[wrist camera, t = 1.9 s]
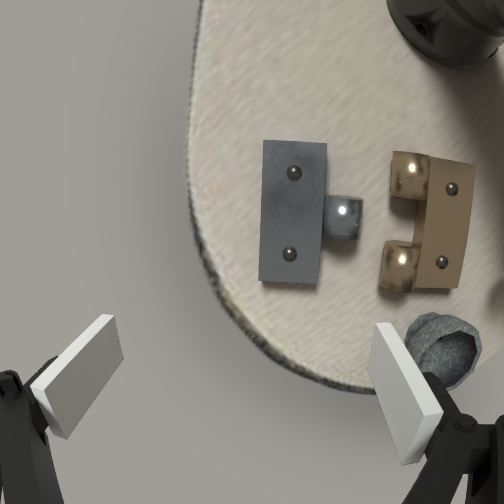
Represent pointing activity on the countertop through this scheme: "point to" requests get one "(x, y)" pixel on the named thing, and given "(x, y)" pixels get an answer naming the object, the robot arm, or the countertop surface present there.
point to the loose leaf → (300, 212)
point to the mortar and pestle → (444, 347)
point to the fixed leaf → (430, 222)
